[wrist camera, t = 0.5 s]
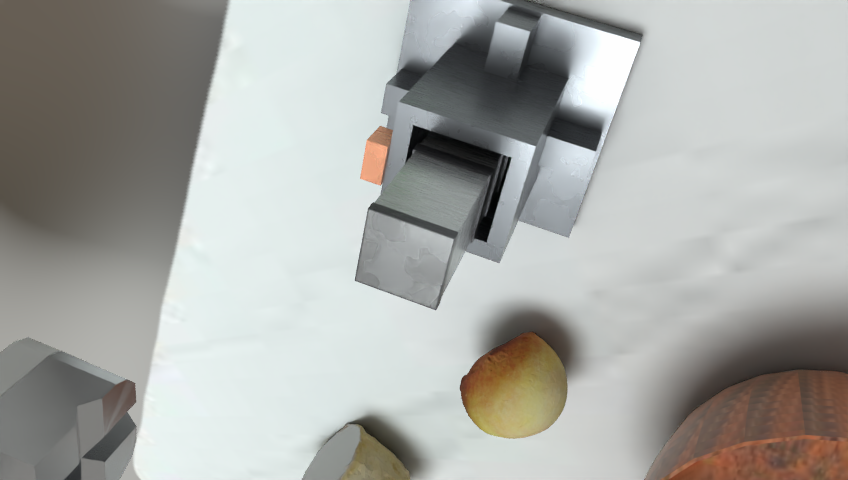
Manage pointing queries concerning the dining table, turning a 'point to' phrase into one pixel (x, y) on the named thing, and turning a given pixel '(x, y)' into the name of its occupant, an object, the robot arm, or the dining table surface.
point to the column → (428, 218)
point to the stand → (507, 103)
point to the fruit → (516, 388)
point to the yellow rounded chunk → (355, 459)
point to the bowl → (764, 432)
